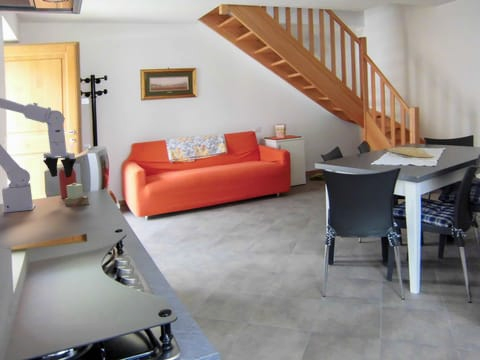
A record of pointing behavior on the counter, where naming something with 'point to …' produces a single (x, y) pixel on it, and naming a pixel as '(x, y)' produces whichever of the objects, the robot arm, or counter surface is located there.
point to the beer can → (66, 181)
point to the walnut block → (76, 201)
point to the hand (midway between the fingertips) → (61, 176)
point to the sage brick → (74, 191)
